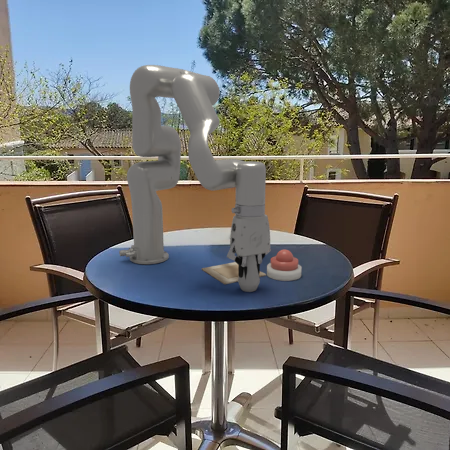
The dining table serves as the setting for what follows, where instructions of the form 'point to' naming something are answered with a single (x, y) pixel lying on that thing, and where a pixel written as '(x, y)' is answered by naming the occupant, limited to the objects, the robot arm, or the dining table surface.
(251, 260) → the salt shaker
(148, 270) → the dining table surface
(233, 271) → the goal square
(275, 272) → the dome base
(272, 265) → the dome button
